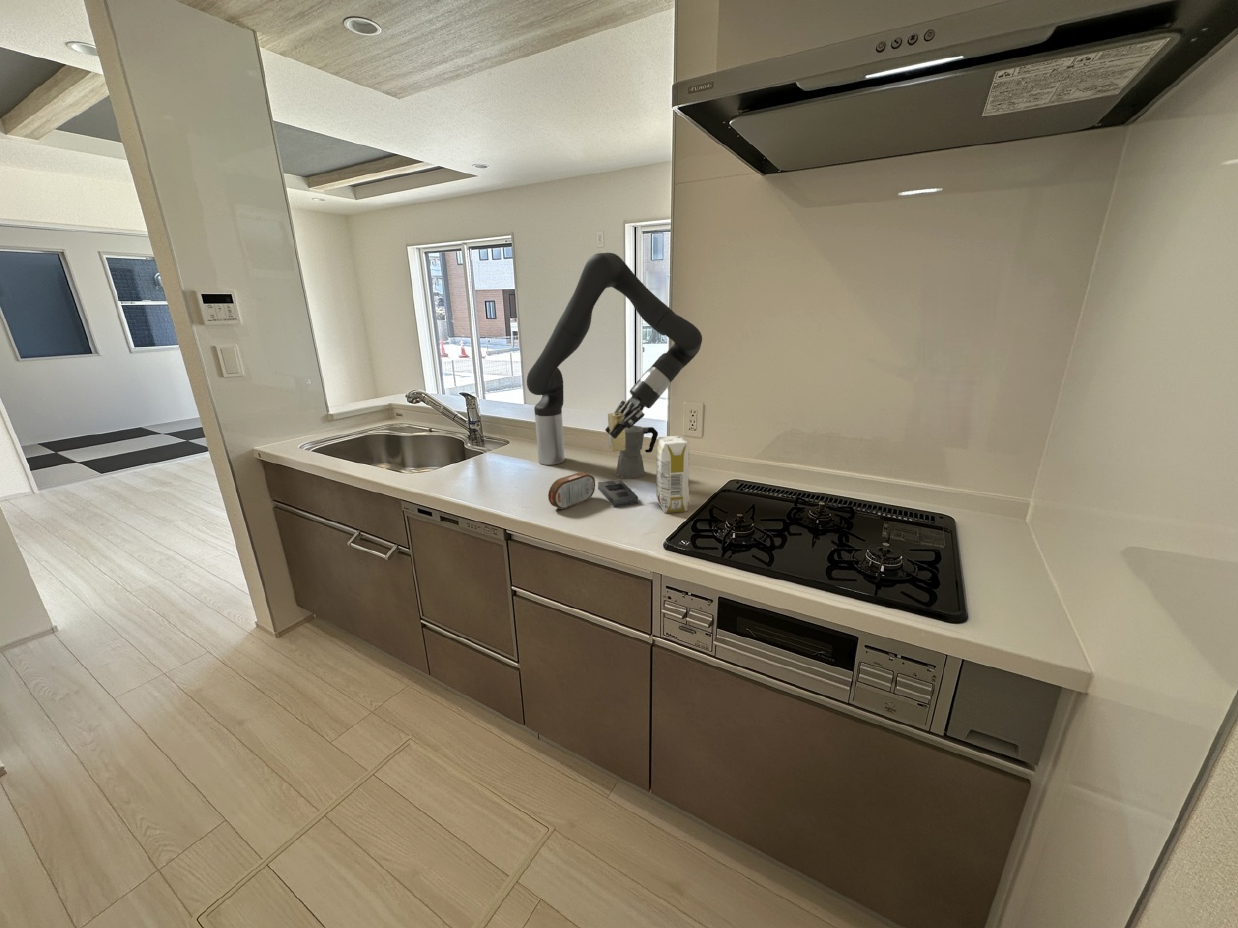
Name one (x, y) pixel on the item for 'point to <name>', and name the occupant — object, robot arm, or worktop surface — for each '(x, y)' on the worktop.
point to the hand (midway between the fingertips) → (610, 434)
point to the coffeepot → (634, 452)
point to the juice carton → (673, 473)
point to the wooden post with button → (618, 442)
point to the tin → (571, 490)
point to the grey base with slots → (618, 493)
